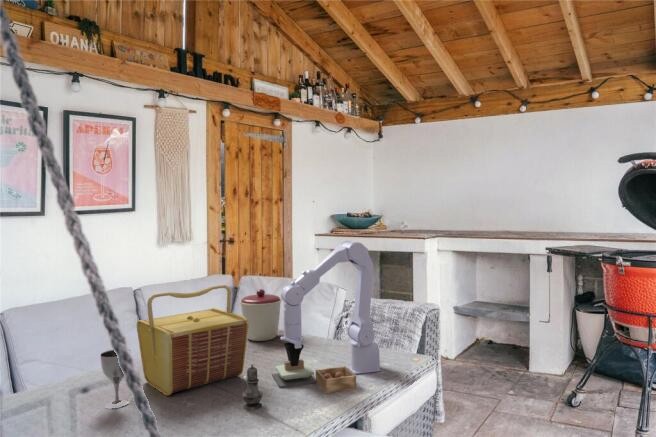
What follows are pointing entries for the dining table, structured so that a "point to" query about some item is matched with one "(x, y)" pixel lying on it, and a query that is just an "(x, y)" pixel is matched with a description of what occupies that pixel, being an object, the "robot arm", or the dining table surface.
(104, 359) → the wine glass
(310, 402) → the dining table surface
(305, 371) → the lid
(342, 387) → the box
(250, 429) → the dining table surface
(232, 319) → the picnic basket
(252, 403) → the salt shaker
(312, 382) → the mat
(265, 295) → the canister
